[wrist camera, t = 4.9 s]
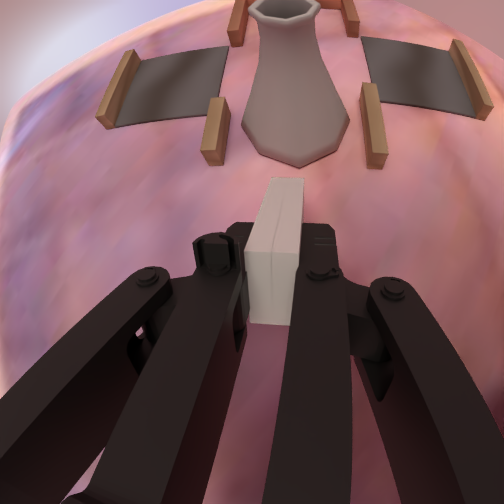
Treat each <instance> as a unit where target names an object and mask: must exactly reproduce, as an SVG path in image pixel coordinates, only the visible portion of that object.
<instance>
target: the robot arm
mask: <svg viewBox="0 0 504 504" xmlns="http://www.w3.org/2000/svg"><path fill="white" fill-rule="evenodd" d="M192 244H193V250H194V256H195V261H196V267H197V268H196V270H195V271H194V273H193V275H191V276H187V277H180V278H173V279H170V275H169V273H168V271H167V270H166V269H164V268H162V267H155V266H152V267H145V268H143V269H140V270H138V271H136V272H135V273H133V274H132V275H130V276H129V277H128V278H127V279H126V280H125V281H123V282H122V283H121V284H120V285H119V286H118V287H117V288H115V289H114V290H113V291H112V292H111V293H110V294H109V295H108V296H106V297H105V298H104V299H103V300H102V301H101V302H100V303H99V304H97V305H96V306H95V307H94V308H93V309H92V310H91V311H90V312H89V313H88V314H86V315H85V316H84V317H83V318H82V319H81V320H80V321H79V322H78V323H77V324H76V325H74V326H73V327H72V328H71V329H70V330H69V331H68V332H67V333H66V334H65V335H64V336H63V337H62V338H61V339H60V340H59V341H58V342H56V343H55V344H54V345H53V346H52V347H51V348H50V349H49V350H48V351H47V352H46V353H45V354H44V355H43V356H42V357H41V358H40V359H39V360H38V361H37V362H36V363H35V364H34V365H33V366H32V367H31V368H30V369H29V370H28V371H27V372H26V373H25V374H24V375H23V376H22V377H21V378H20V379H19V380H18V381H17V382H16V383H15V384H14V385H13V386H12V387H11V388H10V389H9V390H8V392H7V393H6V394H5V395H4V396H3V397H2V398H1V399H0V504H60V503H61V504H202V502H203V499H204V495H205V492H206V488H207V484H208V481H209V477H210V474H211V470H212V466H213V463H214V459H215V455H216V452H217V448H218V444H219V440H220V437H221V433H222V429H223V426H224V422H225V418H226V414H227V411H228V407H229V403H230V399H231V395H232V392H233V388H234V384H235V380H236V376H237V372H238V368H239V365H240V361H241V357H242V353H243V349H244V345H245V341H246V337H247V324H246V322H247V318H248V314H249V318H250V323H257V324H271V325H286V326H290V327H289V336H288V343H287V351H286V359H285V366H284V373H283V380H282V387H281V394H280V401H279V407H278V414H277V420H276V426H275V432H274V438H273V444H272V450H271V456H270V462H269V467H268V473H267V478H266V483H265V489H264V494H263V499H262V504H350V495H351V475H352V382H351V360H350V355H353V356H354V360H355V363H356V366H357V368H358V371H359V374H360V376H361V379H362V382H363V385H364V388H365V390H366V393H367V396H368V399H369V402H370V405H371V407H372V410H373V413H374V416H375V419H376V422H377V425H378V428H379V431H380V434H381V437H382V440H383V443H384V446H385V450H386V453H387V456H388V459H389V462H390V466H391V469H392V472H393V476H394V479H395V482H396V486H397V489H398V493H399V496H400V500H401V503H402V504H504V439H503V437H502V435H501V433H500V431H499V429H498V427H497V424H496V422H495V420H494V418H493V416H492V414H491V413H490V411H489V409H488V407H487V405H486V403H485V401H484V399H483V397H482V395H481V394H480V392H479V390H478V388H477V386H476V385H475V383H474V381H473V379H472V377H471V376H470V374H469V372H468V371H467V369H466V367H465V365H464V364H463V362H462V360H461V359H460V357H459V356H458V354H457V352H456V351H455V349H454V347H453V346H452V344H451V343H450V341H449V339H448V338H447V336H446V335H445V333H444V332H443V330H442V329H441V327H440V326H439V324H438V323H437V321H436V319H435V318H434V317H433V315H432V314H431V312H430V311H429V309H428V308H427V306H426V305H425V303H424V302H423V300H422V299H421V298H420V296H419V295H418V293H417V292H416V291H415V289H414V288H413V287H412V286H411V285H410V284H409V283H407V282H406V281H404V280H402V279H399V278H395V277H382V278H378V279H376V280H374V281H373V282H372V283H371V285H370V287H366V286H362V285H358V284H355V283H353V282H351V281H349V280H347V279H346V278H345V277H344V276H343V273H342V270H341V269H340V268H339V263H338V254H337V246H336V237H335V230H334V229H333V228H332V227H331V226H330V225H329V224H317V223H304V178H280V177H272V178H271V180H270V183H269V186H268V188H267V191H266V193H265V196H264V199H263V201H262V204H261V207H260V209H259V212H258V215H257V217H256V220H255V222H236V223H234V224H233V225H231V226H230V227H229V228H228V229H227V231H226V232H225V233H223V232H218V233H210V234H206V235H203V236H201V237H199V238H197V239H196V240H195V241H194V242H193V243H192ZM140 327H142V329H143V333H142V334H141V335H139V336H138V337H137V336H136V334H135V333H136V332H137V330H138V329H139V328H140ZM105 446H106V447H105ZM104 447H105V449H104ZM103 449H104V451H103V454H102V456H101V458H100V460H99V462H98V465H97V467H96V469H95V471H94V474H93V476H92V478H91V480H90V483H89V484H88V486H87V488H86V489H85V490H84V491H82V492H80V493H77V494H74V495H70V496H68V497H67V498H66V499H65V500H64V501H62V500H63V499H64V498H65V497H66V495H67V494H68V493H69V492H70V490H71V489H72V488H73V486H74V485H75V484H76V483H77V481H78V480H79V479H80V478H81V476H82V475H83V474H84V473H85V471H86V470H87V469H88V468H89V466H90V465H91V464H92V463H93V461H94V460H95V459H96V458H97V456H98V455H99V454H100V452H101V451H102V450H103Z"/></svg>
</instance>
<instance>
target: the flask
mask: <svg viewBox="0 0 504 504" xmlns="http://www.w3.org/2000/svg"><path fill="white" fill-rule="evenodd" d="M320 8H321V5H320V3H318V2H317V1H315V0H256V1H255V2H254V3H253V4H252V5H251V6H249V7H248V12H249V14H250V16H252V17H253V18H254V19H255V20H256V21H257V24H258V29H259V35H260V48H259V63H258V67H257V70H256V74H255V78H254V82H253V85H252V89H251V93H250V96H249V99H248V102H247V106H246V109H245V112H244V115H243V119H242V123H241V126H242V128H243V129H244V131H245V132H246V134H247V135H248V137H249V138H250V140H251V142H252V143H253V145H254V146H255V148H256V149H257V151H258V152H259V154H262V155H265V156H268V157H271V158H273V159H276V160H279V161H282V162H285V163H287V164H290V165H293V166H295V167H298V168H300V167H302V166H304V165H306V164H309V163H311V162H313V161H315V160H317V159H319V158H321V157H323V156H325V155H327V154H329V153H332V152H334V151H336V150H337V149H338V146H339V144H340V142H341V140H342V137H343V135H344V133H345V130H346V128H347V126H348V123H349V121H350V119H349V116H348V114H347V111H346V109H345V107H344V105H343V103H342V101H341V99H340V97H339V95H338V93H337V91H336V89H335V86H334V84H333V82H332V80H331V77H330V75H329V73H328V71H327V69H326V66H325V64H324V62H323V60H322V58H321V54H320V50H319V46H318V42H317V39H316V35H315V16H316V15H317V14H318V13H319V11H320Z"/></svg>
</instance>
